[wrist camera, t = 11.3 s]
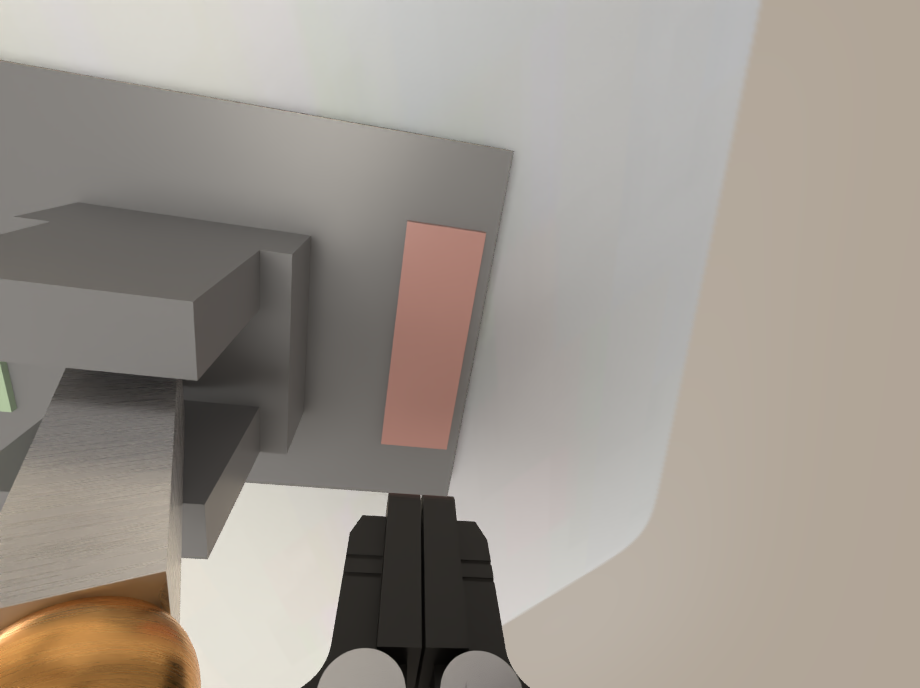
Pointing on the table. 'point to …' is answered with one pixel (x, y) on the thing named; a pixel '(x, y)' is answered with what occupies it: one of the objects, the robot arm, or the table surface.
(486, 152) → the switch box
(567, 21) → the table surface
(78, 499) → the lever
